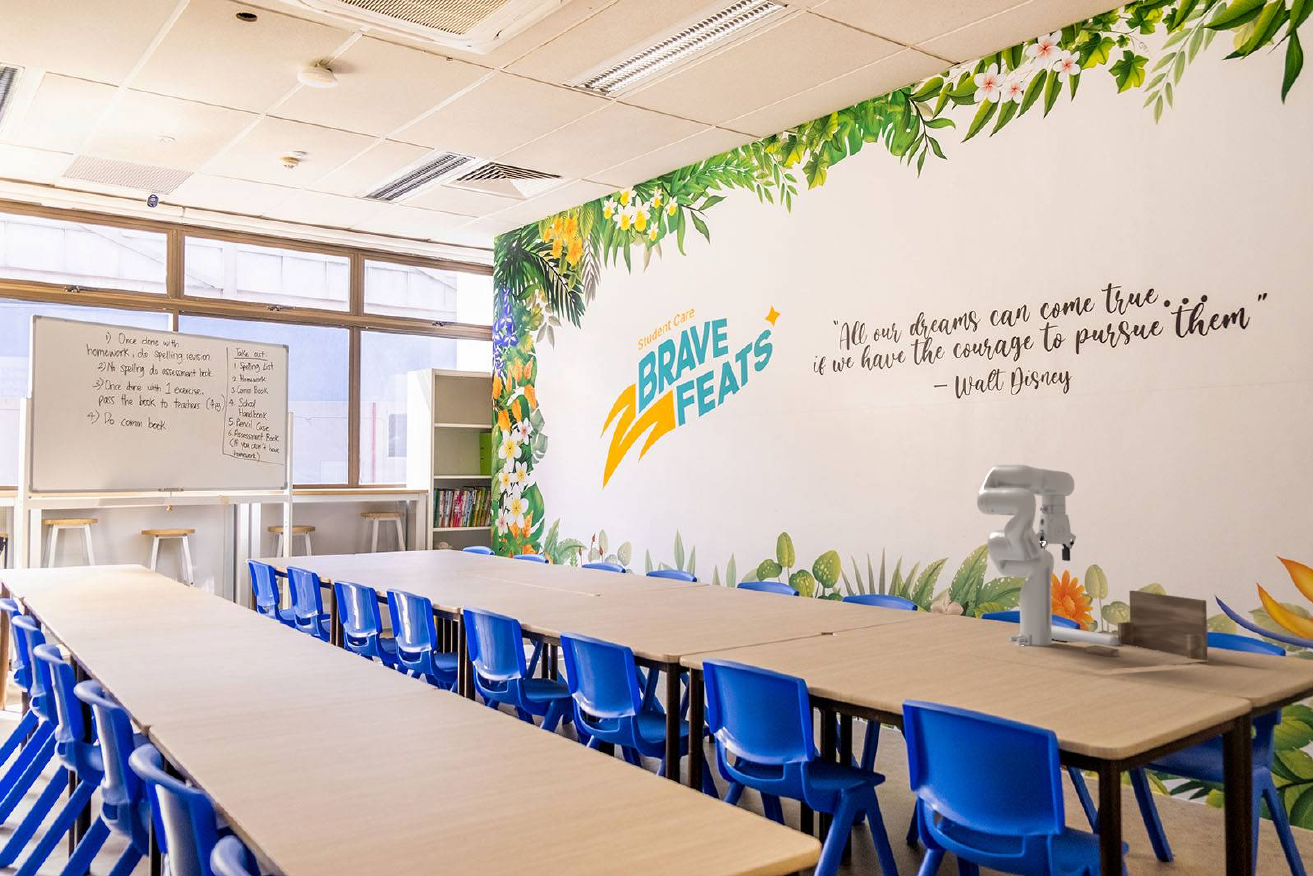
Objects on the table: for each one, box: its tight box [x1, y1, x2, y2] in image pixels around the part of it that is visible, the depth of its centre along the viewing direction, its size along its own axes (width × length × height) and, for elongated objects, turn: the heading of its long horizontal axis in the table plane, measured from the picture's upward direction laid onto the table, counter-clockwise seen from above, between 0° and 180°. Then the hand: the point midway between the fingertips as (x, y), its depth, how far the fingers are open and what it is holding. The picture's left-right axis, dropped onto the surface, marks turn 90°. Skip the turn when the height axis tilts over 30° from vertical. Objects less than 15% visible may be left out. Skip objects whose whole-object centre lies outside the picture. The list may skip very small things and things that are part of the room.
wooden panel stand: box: [1117, 590, 1208, 661], centre depth 310 cm, size 6×28×18 cm, turn 19°
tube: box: [1052, 624, 1121, 647], centre depth 329 cm, size 5×5×25 cm
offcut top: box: [1086, 644, 1120, 658], centre depth 302 cm, size 4×8×2 cm, turn 28°
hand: (1054, 561), depth 341 cm, fingers open, 9 cm apart
